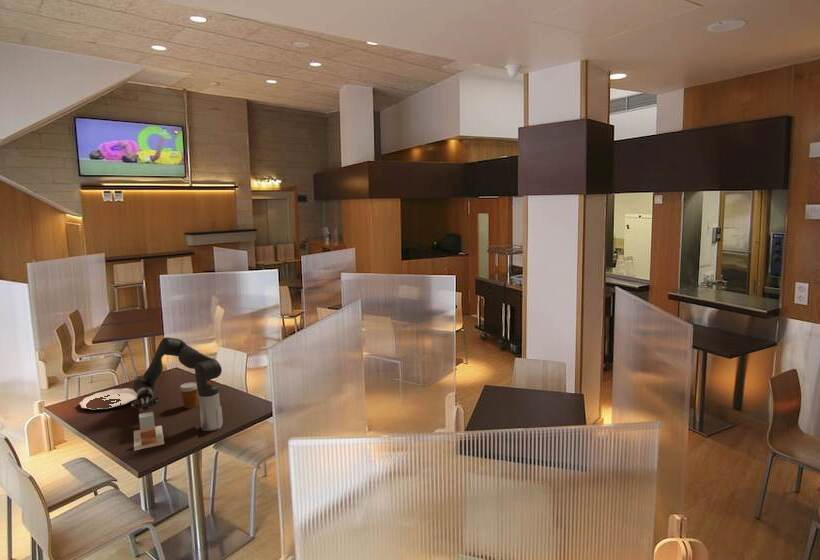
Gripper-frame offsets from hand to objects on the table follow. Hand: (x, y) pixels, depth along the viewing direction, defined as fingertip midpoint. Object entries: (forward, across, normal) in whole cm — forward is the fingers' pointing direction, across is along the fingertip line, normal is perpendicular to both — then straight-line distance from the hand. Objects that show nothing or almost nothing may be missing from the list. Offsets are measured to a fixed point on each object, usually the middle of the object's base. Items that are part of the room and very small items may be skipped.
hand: (145, 408), depth 254 cm
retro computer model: (+15, 0, +6) cm, 17 cm away
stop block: (+27, 0, +6) cm, 28 cm away
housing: (+20, 0, +8) cm, 22 cm away
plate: (-43, -17, +9) cm, 47 cm away
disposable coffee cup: (-13, +21, +8) cm, 26 cm away
